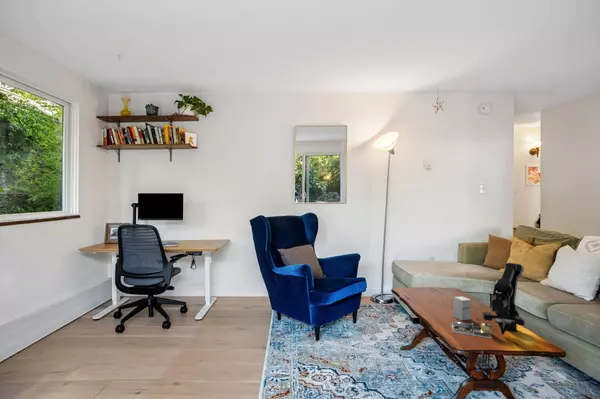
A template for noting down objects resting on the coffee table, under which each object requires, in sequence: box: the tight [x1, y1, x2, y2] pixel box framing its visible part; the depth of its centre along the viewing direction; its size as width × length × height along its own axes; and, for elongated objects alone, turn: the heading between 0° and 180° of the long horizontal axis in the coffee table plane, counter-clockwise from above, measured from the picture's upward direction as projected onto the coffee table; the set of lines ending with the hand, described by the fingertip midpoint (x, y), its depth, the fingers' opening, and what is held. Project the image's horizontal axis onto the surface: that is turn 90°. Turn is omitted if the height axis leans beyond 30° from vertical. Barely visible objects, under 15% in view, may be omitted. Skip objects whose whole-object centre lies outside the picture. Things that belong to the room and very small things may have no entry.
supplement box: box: [452, 296, 472, 321], centre depth 193 cm, size 7×7×13 cm
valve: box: [480, 321, 493, 336], centre depth 171 cm, size 5×5×6 cm
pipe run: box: [451, 320, 493, 339], centre depth 173 cm, size 19×12×4 cm, turn 67°
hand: (502, 333), depth 167 cm, fingers closed
